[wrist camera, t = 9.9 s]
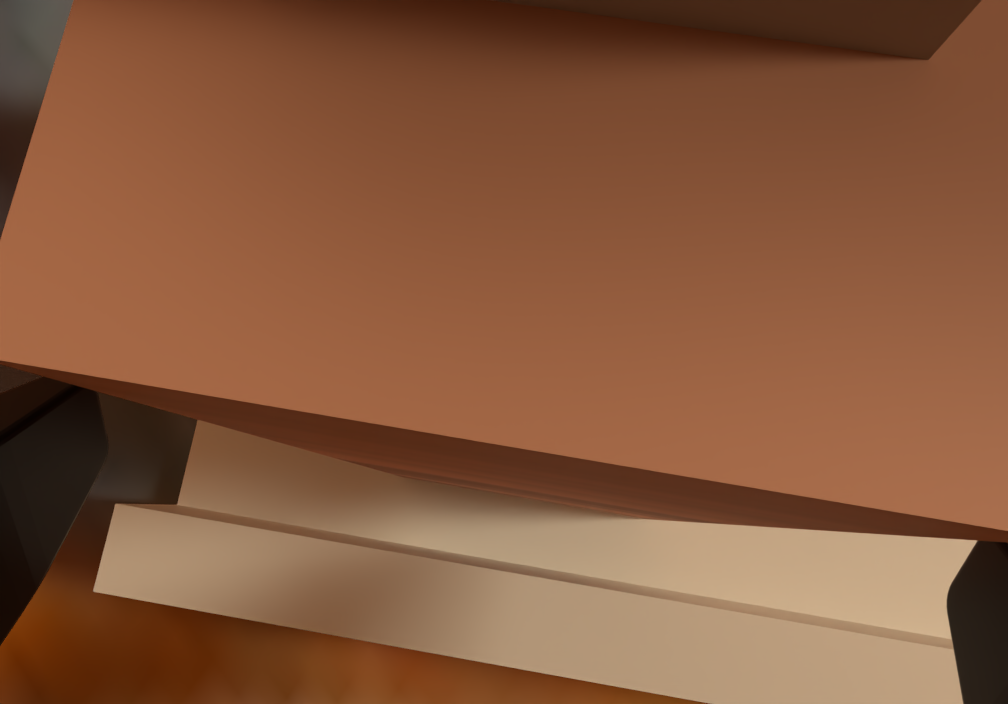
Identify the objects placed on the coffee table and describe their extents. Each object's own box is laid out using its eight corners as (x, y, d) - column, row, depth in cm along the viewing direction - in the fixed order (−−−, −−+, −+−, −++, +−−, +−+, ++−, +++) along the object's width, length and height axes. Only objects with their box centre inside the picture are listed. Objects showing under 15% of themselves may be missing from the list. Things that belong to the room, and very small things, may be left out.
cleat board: (1092, 738, 16) (2289, 1218, 5) (180, 575, 17) (-419, 686, 6) (1104, 224, 18) (1969, -205, 7) (290, 108, 19) (-15, -416, 8)
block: (645, 519, 16) (1668, 582, 2) (403, 477, 16) (-478, 231, 2) (677, 283, 17) (1498, -953, 3) (447, 247, 17) (68, -1040, 3)
